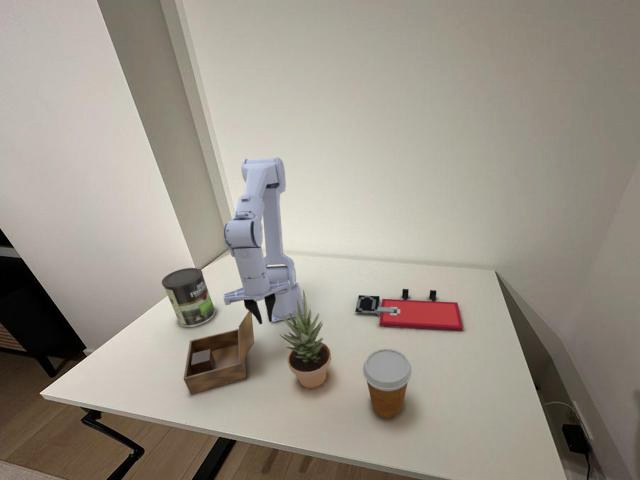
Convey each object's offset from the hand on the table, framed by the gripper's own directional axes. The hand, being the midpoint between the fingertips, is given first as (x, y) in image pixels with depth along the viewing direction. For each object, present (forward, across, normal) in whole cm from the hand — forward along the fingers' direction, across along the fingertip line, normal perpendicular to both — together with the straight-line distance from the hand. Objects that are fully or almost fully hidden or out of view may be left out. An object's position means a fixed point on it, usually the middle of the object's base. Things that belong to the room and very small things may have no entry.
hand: (265, 320), depth 77 cm
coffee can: (+11, -20, +24) cm, 33 cm away
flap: (+2, -5, 0) cm, 6 cm away
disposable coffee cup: (+11, +21, -25) cm, 34 cm away
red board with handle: (+11, +39, +2) cm, 40 cm away
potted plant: (+11, +8, -12) cm, 18 cm away
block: (+10, -16, 0) cm, 19 cm away
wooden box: (+10, -13, 0) cm, 17 cm away
